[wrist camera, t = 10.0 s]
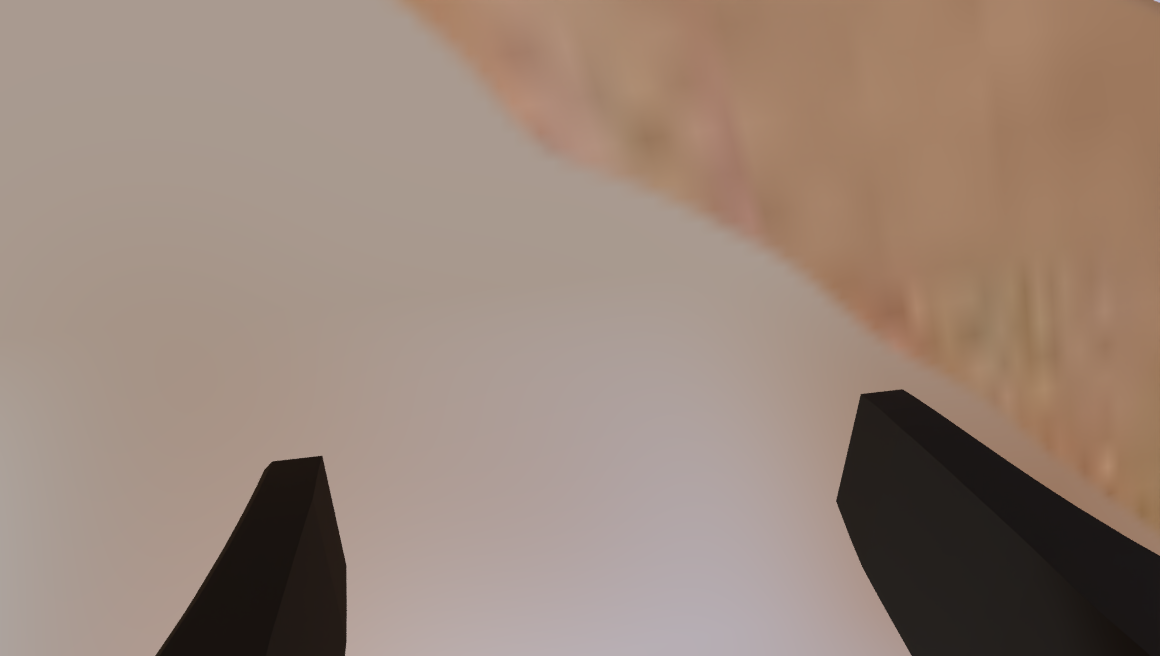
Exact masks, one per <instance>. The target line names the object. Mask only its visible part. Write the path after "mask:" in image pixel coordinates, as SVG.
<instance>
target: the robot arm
mask: <svg viewBox="0 0 1160 656" xmlns="http://www.w3.org/2000/svg"><path fill="white" fill-rule="evenodd" d="M1154 1H1157V2H1159V3H1160V0H1154ZM836 502H837V504H838V507H839V510H840V512H841V515H842V518H843V520H844V523H845V525H846V528H847V531H848V533H849V536H850V538H851V541H852V543H853V546H854V548H855V550H856V553H857V555H858V557H859V560H860V562H861V565H862V567H863V569H864V571H865V573H866V575H867V576H868V578H869V580H870V582H871V584H872V586H873V587H874V589H875V591H876V592H877V595H878V596H879V598H880V600H881V602H882V604H883V605H884V607H885V609H886V611H887V613H888V614H889V616H890V618H891V619H892V621H893V623H894V625H895V627H896V629H897V630H898V632H899V634H900V636H901V637H902V639H903V641H904V643H905V645H906V646H907V648H908V650H909V652H910V653H911V655H912V656H1160V556H1159V555H1157V554H1155V553H1154V552H1152V551H1150V550H1148V549H1147V548H1145V547H1143V546H1141V545H1139V544H1137V543H1136V542H1134V541H1133V540H1131V539H1129V538H1127V537H1126V536H1124V535H1122V534H1121V533H1119V532H1117V531H1116V530H1114V529H1113V528H1111V527H1109V526H1108V525H1106V524H1104V523H1103V522H1101V521H1099V520H1098V519H1096V518H1094V517H1093V516H1091V515H1090V514H1088V513H1086V512H1085V511H1083V510H1081V509H1080V508H1078V507H1076V506H1075V505H1073V504H1072V503H1070V502H1069V501H1067V500H1065V499H1064V498H1062V497H1061V496H1059V495H1058V494H1056V493H1055V492H1053V491H1052V490H1050V489H1049V488H1047V487H1045V486H1044V485H1043V484H1041V483H1039V482H1038V481H1036V480H1035V479H1033V478H1032V477H1030V476H1029V475H1028V474H1026V473H1024V472H1023V471H1021V470H1020V469H1019V468H1017V467H1016V466H1014V465H1013V464H1011V463H1010V462H1008V461H1007V460H1005V459H1004V458H1003V457H1001V456H1000V455H998V454H997V453H995V452H994V451H992V450H991V449H989V448H988V447H986V446H985V445H984V444H982V443H981V442H979V441H978V440H977V439H975V438H974V437H972V436H971V435H969V434H968V433H966V432H965V431H964V430H962V429H961V428H959V427H958V426H956V425H955V424H954V423H952V422H951V421H949V420H948V419H946V418H945V417H943V416H942V415H941V414H939V413H938V412H936V411H935V410H933V409H932V408H930V407H929V406H927V405H926V404H924V403H923V402H921V401H920V400H918V399H917V398H915V397H914V396H912V395H910V394H909V393H908V392H906V391H904V390H893V391H884V392H876V393H867V394H861V396H860V400H859V405H858V409H857V414H856V418H855V422H854V427H853V431H852V435H851V440H850V444H849V448H848V452H847V457H846V461H845V465H844V470H843V474H842V478H841V483H840V487H839V491H838V496H837V500H836ZM346 597H347V596H346V563H345V558H344V553H343V549H342V544H341V540H340V535H339V530H338V526H337V521H336V517H335V512H334V507H333V503H332V498H331V494H330V489H329V485H328V480H327V475H326V471H325V466H324V462H323V457H322V456H318V457H309V458H299V459H290V460H282V461H273V462H271V463H270V465H269V466H268V467H267V468H266V469H265V470H264V472H263V474H262V476H261V478H260V481H259V483H258V485H257V487H256V489H255V491H254V493H253V495H252V497H251V499H250V501H249V503H248V504H247V506H246V508H245V510H244V512H243V514H242V516H241V518H240V520H239V522H238V523H237V525H236V527H235V529H234V531H233V532H232V534H231V536H230V538H229V540H228V541H227V543H226V545H225V547H224V549H223V550H222V552H221V554H220V555H219V557H218V559H217V560H216V562H215V564H214V565H213V567H212V569H211V570H210V572H209V574H208V576H207V577H206V579H205V580H204V582H203V584H202V585H201V587H200V589H199V590H198V592H197V594H196V596H195V597H194V599H193V600H192V602H191V603H190V605H189V607H188V608H187V610H186V611H185V613H184V614H183V616H182V617H181V619H180V620H179V622H178V623H177V625H176V626H175V628H174V629H173V631H172V632H171V634H170V635H169V637H168V638H167V640H166V641H165V643H164V644H163V646H162V647H161V649H160V650H159V651H158V653H157V654H156V656H345V649H346V618H347V617H346V616H347V613H346V611H347V610H346V609H347V608H346V607H347V604H346V603H347V599H346Z"/></svg>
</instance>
